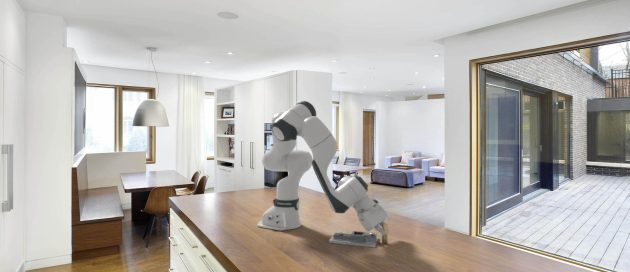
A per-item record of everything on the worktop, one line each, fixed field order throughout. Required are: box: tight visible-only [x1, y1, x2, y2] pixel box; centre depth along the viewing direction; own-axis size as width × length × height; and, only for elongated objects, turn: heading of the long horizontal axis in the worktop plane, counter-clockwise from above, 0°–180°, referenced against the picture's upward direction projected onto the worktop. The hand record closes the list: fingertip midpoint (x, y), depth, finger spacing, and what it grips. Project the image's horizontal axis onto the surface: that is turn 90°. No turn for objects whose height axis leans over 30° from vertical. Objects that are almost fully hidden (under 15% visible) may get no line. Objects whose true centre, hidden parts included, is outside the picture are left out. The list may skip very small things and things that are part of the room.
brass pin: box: [381, 223, 389, 244], centre depth 146 cm, size 2×2×8 cm
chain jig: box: [328, 230, 379, 248], centre depth 150 cm, size 20×12×4 cm, turn 73°
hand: (386, 232), depth 146 cm, fingers closed on brass pin, 2 cm apart
